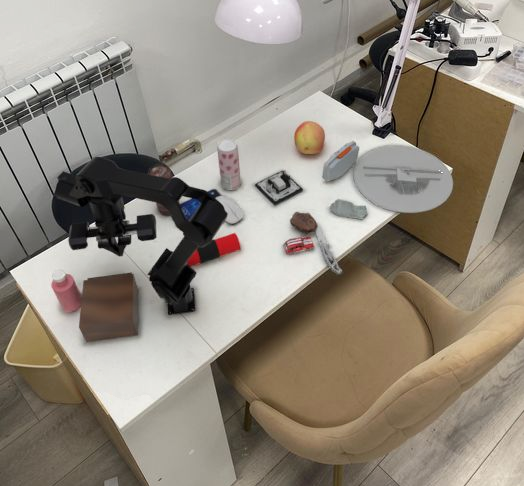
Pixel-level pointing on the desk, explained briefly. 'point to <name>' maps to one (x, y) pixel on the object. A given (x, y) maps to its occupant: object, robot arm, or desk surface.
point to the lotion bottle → (66, 291)
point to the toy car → (298, 245)
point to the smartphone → (195, 204)
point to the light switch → (278, 187)
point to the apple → (309, 137)
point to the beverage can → (229, 164)
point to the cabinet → (109, 308)
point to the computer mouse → (231, 209)
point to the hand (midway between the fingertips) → (121, 254)
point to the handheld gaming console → (340, 161)
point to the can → (164, 172)
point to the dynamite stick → (215, 249)
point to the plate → (403, 179)
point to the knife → (327, 251)
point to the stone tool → (348, 209)
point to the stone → (303, 222)
